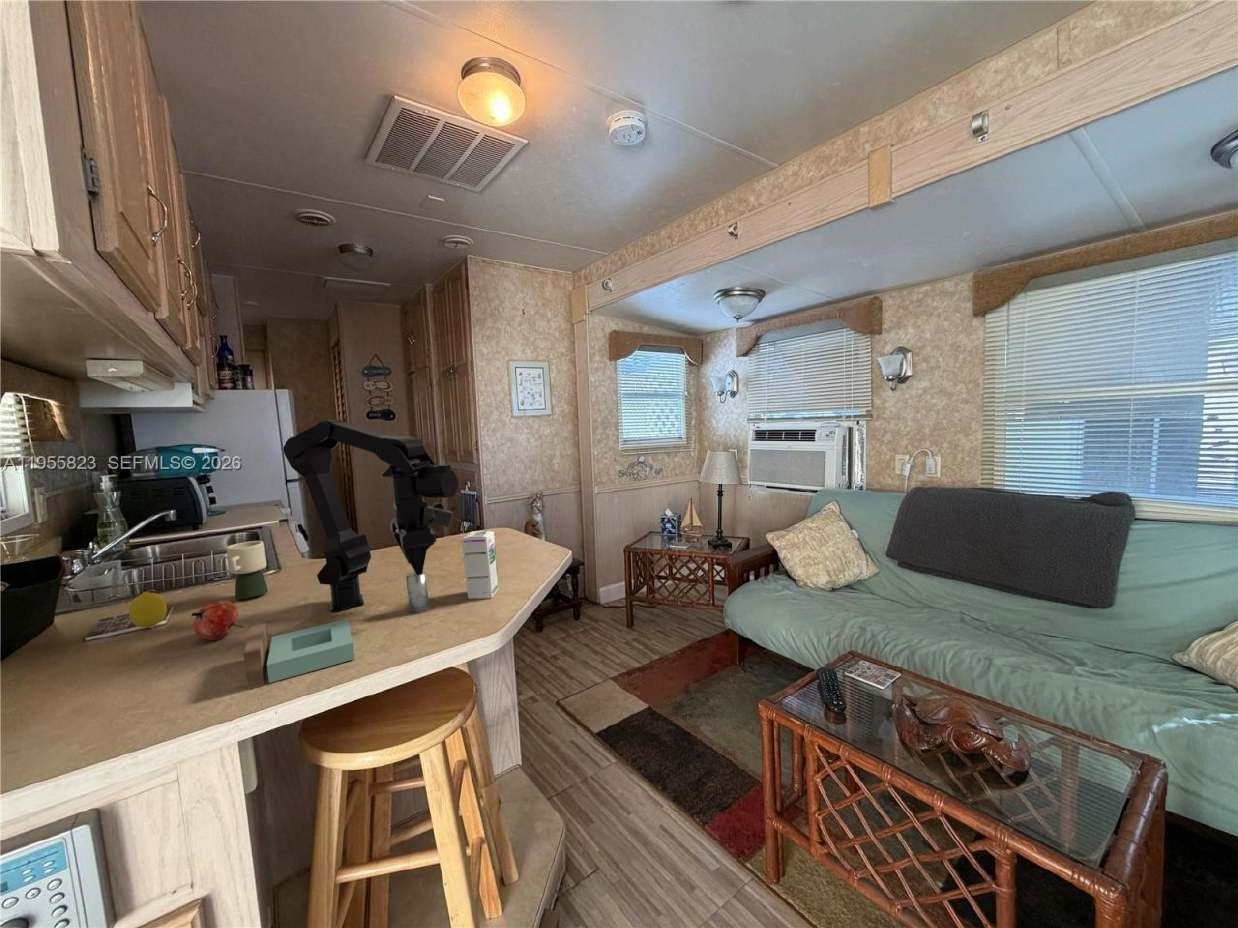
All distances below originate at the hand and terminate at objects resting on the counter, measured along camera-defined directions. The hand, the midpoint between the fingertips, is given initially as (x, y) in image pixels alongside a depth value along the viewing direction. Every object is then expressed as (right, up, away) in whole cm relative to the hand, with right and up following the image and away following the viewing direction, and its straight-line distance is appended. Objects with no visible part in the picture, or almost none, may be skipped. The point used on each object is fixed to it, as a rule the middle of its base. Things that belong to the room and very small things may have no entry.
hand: (415, 568), depth 101 cm
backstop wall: (-17, -12, -22) cm, 30 cm away
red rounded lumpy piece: (-35, -12, -8) cm, 38 cm away
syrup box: (+12, -8, +8) cm, 17 cm away
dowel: (+1, -9, +1) cm, 9 cm away
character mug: (-45, -10, +13) cm, 48 cm away
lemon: (-54, -12, -3) cm, 55 cm away
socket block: (-10, -12, -18) cm, 24 cm away
